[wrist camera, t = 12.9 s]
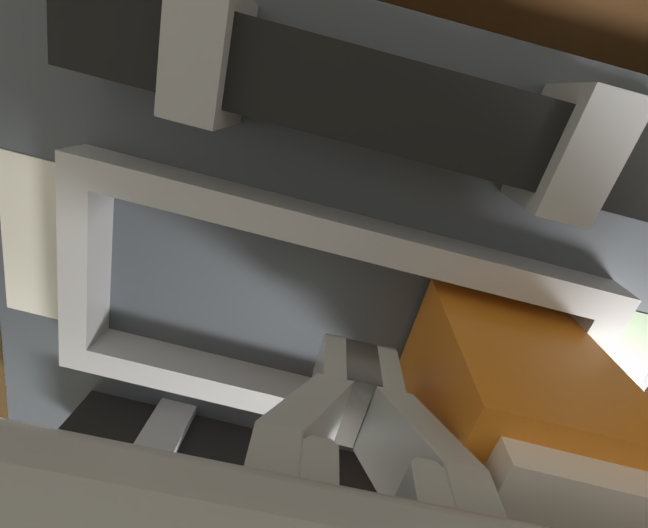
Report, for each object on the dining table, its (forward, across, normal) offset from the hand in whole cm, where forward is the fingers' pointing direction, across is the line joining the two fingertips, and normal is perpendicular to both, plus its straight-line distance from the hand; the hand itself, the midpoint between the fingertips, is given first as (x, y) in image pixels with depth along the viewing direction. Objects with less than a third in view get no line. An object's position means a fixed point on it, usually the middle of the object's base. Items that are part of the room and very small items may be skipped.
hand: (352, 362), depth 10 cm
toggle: (+2, -4, 0) cm, 4 cm away
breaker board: (+4, +1, 0) cm, 4 cm away
